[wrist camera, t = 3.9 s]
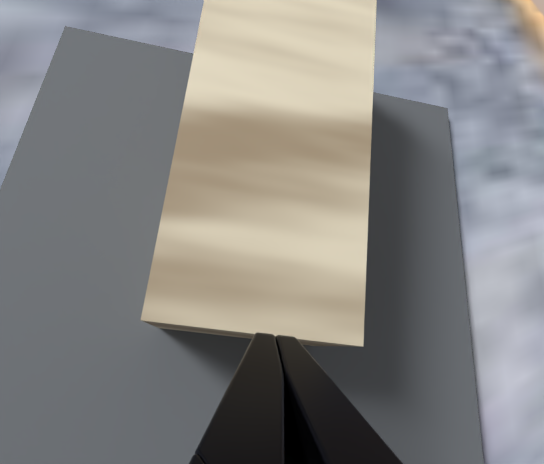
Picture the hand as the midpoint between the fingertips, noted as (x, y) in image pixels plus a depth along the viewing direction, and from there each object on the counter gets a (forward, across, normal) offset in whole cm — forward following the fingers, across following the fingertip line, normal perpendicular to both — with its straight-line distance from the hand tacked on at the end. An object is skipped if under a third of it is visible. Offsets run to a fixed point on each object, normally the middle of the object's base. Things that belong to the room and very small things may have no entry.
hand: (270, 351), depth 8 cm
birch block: (+4, 0, +3) cm, 5 cm away
